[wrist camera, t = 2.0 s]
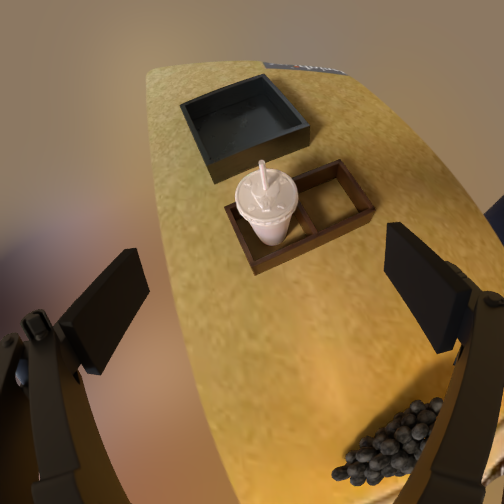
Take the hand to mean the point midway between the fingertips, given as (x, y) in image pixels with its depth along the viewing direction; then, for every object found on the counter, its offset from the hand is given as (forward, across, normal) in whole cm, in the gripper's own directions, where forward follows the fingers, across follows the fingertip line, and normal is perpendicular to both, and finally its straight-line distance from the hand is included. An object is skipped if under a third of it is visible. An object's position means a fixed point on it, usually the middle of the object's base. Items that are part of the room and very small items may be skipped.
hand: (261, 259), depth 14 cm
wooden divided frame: (+23, +4, -6) cm, 24 cm away
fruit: (+2, +12, -27) cm, 30 cm away
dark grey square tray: (+35, -3, +6) cm, 36 cm away
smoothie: (+22, 0, -7) cm, 24 cm away
